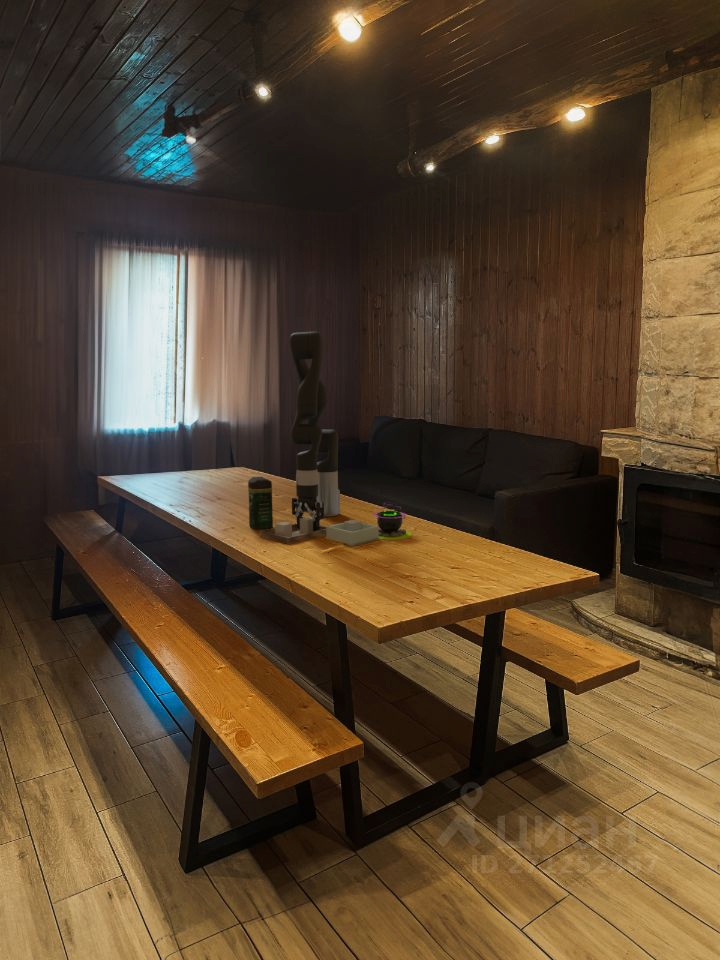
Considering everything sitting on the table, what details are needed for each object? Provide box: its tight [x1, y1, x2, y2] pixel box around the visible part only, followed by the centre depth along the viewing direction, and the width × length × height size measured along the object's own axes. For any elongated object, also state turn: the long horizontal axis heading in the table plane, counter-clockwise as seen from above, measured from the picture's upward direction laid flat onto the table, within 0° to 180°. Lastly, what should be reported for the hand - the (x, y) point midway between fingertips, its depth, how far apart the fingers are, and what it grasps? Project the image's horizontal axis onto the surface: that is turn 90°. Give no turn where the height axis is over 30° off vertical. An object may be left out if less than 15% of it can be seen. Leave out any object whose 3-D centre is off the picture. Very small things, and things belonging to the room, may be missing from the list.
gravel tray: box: [259, 522, 327, 545], centre depth 239 cm, size 19×14×3 cm
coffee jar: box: [247, 476, 274, 531], centre depth 251 cm, size 10×8×19 cm
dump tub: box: [326, 522, 380, 547], centre depth 235 cm, size 12×12×5 cm
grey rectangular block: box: [300, 516, 313, 534], centre depth 243 cm, size 4×4×5 cm
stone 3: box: [343, 519, 362, 532], centre depth 237 cm, size 4×4×5 cm
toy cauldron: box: [373, 502, 412, 541], centre depth 241 cm, size 15×15×11 cm
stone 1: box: [274, 521, 293, 537], centre depth 235 cm, size 4×4×5 cm
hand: (308, 529), depth 243 cm, fingers open, 7 cm apart
